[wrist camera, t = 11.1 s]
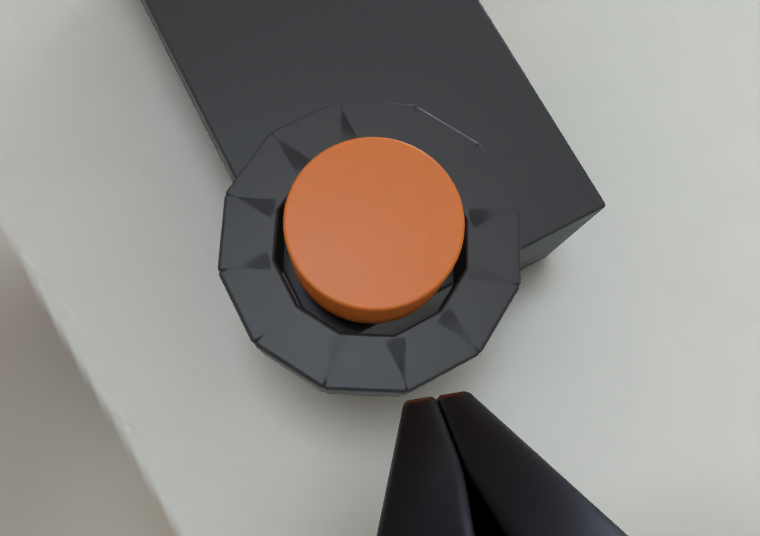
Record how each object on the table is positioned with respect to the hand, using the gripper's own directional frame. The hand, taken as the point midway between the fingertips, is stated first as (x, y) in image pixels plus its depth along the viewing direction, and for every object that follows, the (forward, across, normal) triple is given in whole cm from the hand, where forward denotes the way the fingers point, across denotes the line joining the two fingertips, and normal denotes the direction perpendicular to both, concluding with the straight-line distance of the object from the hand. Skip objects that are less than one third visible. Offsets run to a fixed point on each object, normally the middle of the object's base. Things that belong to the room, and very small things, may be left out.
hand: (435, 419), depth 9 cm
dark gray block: (+15, +1, +2) cm, 15 cm away
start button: (+7, 0, +1) cm, 7 cm away
